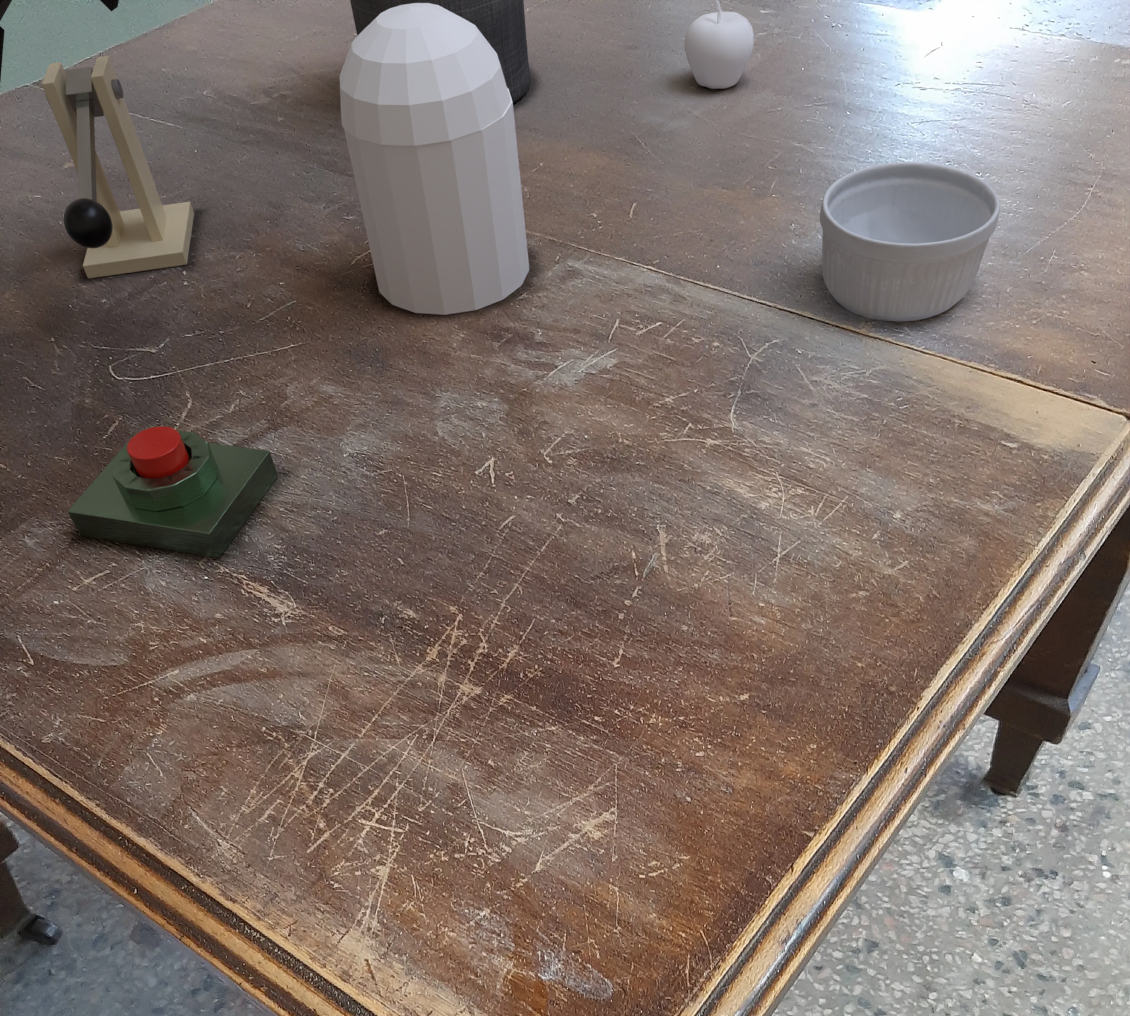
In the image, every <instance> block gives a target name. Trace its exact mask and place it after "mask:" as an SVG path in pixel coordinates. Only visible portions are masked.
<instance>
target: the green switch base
mask: <svg viewBox="0 0 1130 1016" xmlns="http://www.w3.org/2000/svg"><path fill="white" fill-rule="evenodd" d="M176 430H177V431H178V432H179V434H180V436H181V438H182V441H183V443H184V445H185V448H186V450H187V453H188V455H189V461H188V463H187V464H186V466H185V467H184V468H183V469H181V470H179V471H177V472H175V473H173V474H172V475H170V476H166V477H161V478H156V479H148V478H143V477H141V476H140V475H139V474H138V473H137V471H136V469H135V467H134V465H133V463H132V461H131V459H130V456H129V454H128V452H127V445H128V442H129V441H130V439H131V438H132V437H134V436H135V435H136V434H138V433H139V432H135V433H134V434H133V435H132V436H131V437H130V438H129V439H128V441H127V442H126V443H125V444H124V445H123V446H122V447H121V448H120V449H119V451H118V452H117V453H116V455H115V456H113V458H112V459H111V460H110V461H109V463H108V464H107V465H106V466H105V467H104V468H103V469H102V471H101V472H99V474H98V475H97V476H96V478H95V479H94V480H93V481H92V482H91V483H90V484H89V486H88V487H87V488H86V489H85V491H83V492H82V494H81V495H80V496H79V497H78V499H77V500H76V501H75V502H74V503H73V504H72V505H71V507H69V509H68V510H67V513H68V515H69V517H70V519H71V520H72V523H73V524H74V526H75V528H76V530H77V532H78V533H79V535H80V537H84V538H89V539H90V538H91V539H97V540H104V541H108V542H109V541H110V542H116V543H123V544H128V545H134V546H141V547H147V548H153V549H159V550H165V551H172V552H177V553H184V554H188V555H189V554H190V555H196V556H203V557H207V558H208V557H209V558H215V559H221V558H222V557H223V555H224V554H225V552H226V550H227V549H228V548H229V546H230V545H231V543H232V542H233V540H235V538H236V536H237V535H238V533H239V532H240V531H241V529H242V528H243V527H244V526H245V524H246V522H247V521H248V519H249V518H250V517H251V515H252V514H253V512H254V511H255V510H256V508H257V507H258V505H259V504H260V502H261V501H262V500H263V498H264V497H265V496H266V494H267V493H268V491H269V490H270V488H271V487H272V486H273V484H274V483H275V482H276V480H277V479H278V477H279V474H278V471H277V469H276V468H277V467H276V466H275V463H274V459H273V457H272V454H271V451H270V450H266V449H265V450H264V449H258V448H250V447H243V446H236V445H227V444H221V443H215V442H214V443H213V442H208V441H207V440H206V439H204V438H203V437H201V436H200V435H199V434H198V433H197V432H194V431H186V430H179V429H176Z"/></svg>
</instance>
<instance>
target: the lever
mask: <svg viewBox="0 0 1130 1016" xmlns="http://www.w3.org/2000/svg"><path fill="white" fill-rule="evenodd" d="M64 71H65V82H66V96H67V98H68V100H69V102H70V104H71V106H72V108H73V110H74V112H75V114H76V118H77V158H78V172H77V191H78V192H77V193H78V194H77V195H78V196H77V197H78V198H77V199H75V200H72V201H71V202H70V203H69V204H68V205H67V206H66V208H65V210H64V213H63V225H64V229H65V231H66V233H67V234H68V236H69V237H70V239H71V240H72V241H73V242H75V243H76V244H77V245H79V246H81V247H83V248H86V249H87V248H98V247H101V246H103V245H105V244H106V243H107V242H108V241H109V239H110V237H111V235H112V230H113V225H112V220H111V217H110V215H109V213H108V212H107V210H106V209H105V208H104V207H103V206H102V205H101V204H99V203H98V202H97V192H96V160H95V150H96V135H95V133H96V132H95V131H96V130H95V118H100V117H105V114H104V112H103V109H102V106H101V104H100V101H99V99H98V96H97V93H96V91H95V88H94V85H93V83H92V80H91V75H92V72H93V68H92V67H91V66H86V67H79V68H70V69H64Z"/></svg>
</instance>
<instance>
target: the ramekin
mask: <svg viewBox="0 0 1130 1016" xmlns="http://www.w3.org/2000/svg"><path fill="white" fill-rule="evenodd" d="M819 211H820V212H819V222H820V227H821V229H822V234H821V235H822V237H821V240H822V242H821V244H822V245H821V247H822V248H821V250H822V251H821V253H822V254H821V267H822V268H821V269H822V277H823V281H824V284H825V286H826V288H827V291H828V292H829V293H830V294H831V296H832V297H833V298H834V300H835V301H836V302H837V303H838V304H840V306H841V307H843V308H845V309H846V310H848V311H850V312H851V313H854V314H856V315H858V316H862V317H864V318H868V319H872V320H876V321H884V322H895V323H896V322H897V323H898V322H899V323H900V322H901V323H902V322H915V321H920V320H925V319H929V318H933V317H935V316H938V315H940V314H943V313H945V312H946V311H948V310H950V309H951V308H952V307H954V306H955V305H956V304H957V303H958V302H960V301H961V300H962V299H964V297H965V296H966V295H967V294H968V292H969V291H970V289H971V287H972V286H973V283H974V281H975V279H976V277H977V275H978V271H979V269H980V266H981V263H982V261H983V258H984V255H985V252H986V250H987V246H988V243H989V240H990V238H991V237H992V235H993V234H994V232H995V231H996V228H997V226H998V222H999V217H1000V212H1001V200H1000V197H999V195H998V193H997V192H996V191H995V189H994V188H993V187H992V186H991V185H990V184H989V183H987V182H986V181H985V180H984V179H982V178H980V177H978V176H976V175H974V174H972V173H970V172H967V171H965V170H962V169H959V168H955V167H952V166H948V165H943V164H938V163H928V162H919V161H918V162H917V161H902V162H901V161H900V162H887V163H880V164H875V165H870V166H865V167H862V168H859V169H855V170H853V171H851V172H849V173H847V174H845V175H843V176H841V177H840V178H838V179H836V180H835V181H834V182H833V183H831V184H830V185H829V187H828V188H827V189H826V191H825V193H824V195H823V196H822V199H821V205H820V210H819Z"/></svg>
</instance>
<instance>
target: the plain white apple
mask: <svg viewBox="0 0 1130 1016" xmlns="http://www.w3.org/2000/svg"><path fill="white" fill-rule="evenodd" d="M713 2H714V5H715V8H716V11H714V12H710V13H704V14H702V15H700V16H698V17H697V18H696V19H695V20H693V21H692V22H691V23H690V25H689V26H688V28H687V30H686V33H685V36H684V52H685V56H686V60H687V63H688V65H689V68H690V70H691V73H692V74H693V77H694V79H695V81H696V83H697V84H698V85H699V86H701V87H706V88H708V89H710V90H711V89H712V90H719V89H725V90H726V89H729V88H731V87H733V86H735V85H736V84H738V83H739V81H740V80H741V78H742V76H743V73H744V71H745V69H746V66H747V64H748V63H749V60H750V59H751V56H752V53H753V50H754V44H755V43H754V42H755V33H754V28H753V27H752V24H751V23H750V21H749V20H748V19H747V18H746V17H745V16H743V15H742V14H740V13H738V12H736V11H723V9H722V6H721V3H720V2H719V0H713Z"/></svg>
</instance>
